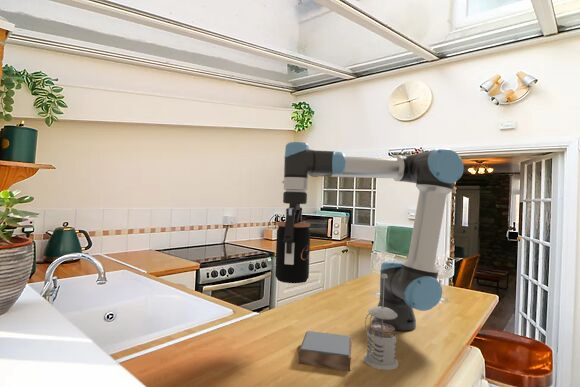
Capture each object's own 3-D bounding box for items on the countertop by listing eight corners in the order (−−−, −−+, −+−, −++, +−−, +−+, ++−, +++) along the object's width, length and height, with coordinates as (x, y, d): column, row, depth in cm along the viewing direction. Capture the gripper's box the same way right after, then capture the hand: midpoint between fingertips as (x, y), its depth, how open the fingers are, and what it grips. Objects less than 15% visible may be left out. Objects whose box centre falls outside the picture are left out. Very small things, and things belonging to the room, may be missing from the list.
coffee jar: (305, 285, 101) (307, 225, 101) (271, 282, 103) (273, 223, 103) (311, 277, 111) (313, 222, 111) (279, 274, 114) (281, 221, 114)
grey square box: (350, 348, 104) (351, 335, 104) (350, 371, 90) (350, 355, 90) (305, 342, 107) (306, 330, 107) (298, 363, 93) (299, 349, 93)
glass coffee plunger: (377, 372, 90) (381, 278, 91) (352, 353, 101) (356, 269, 101) (406, 366, 94) (409, 276, 94) (379, 348, 105) (382, 267, 105)
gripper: (291, 191, 119) (288, 254, 119) (274, 190, 97) (271, 267, 97) (312, 192, 118) (309, 255, 118) (300, 190, 95) (297, 269, 95)
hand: (292, 260), depth 107 cm, fingers closed on coffee jar, 11 cm apart
